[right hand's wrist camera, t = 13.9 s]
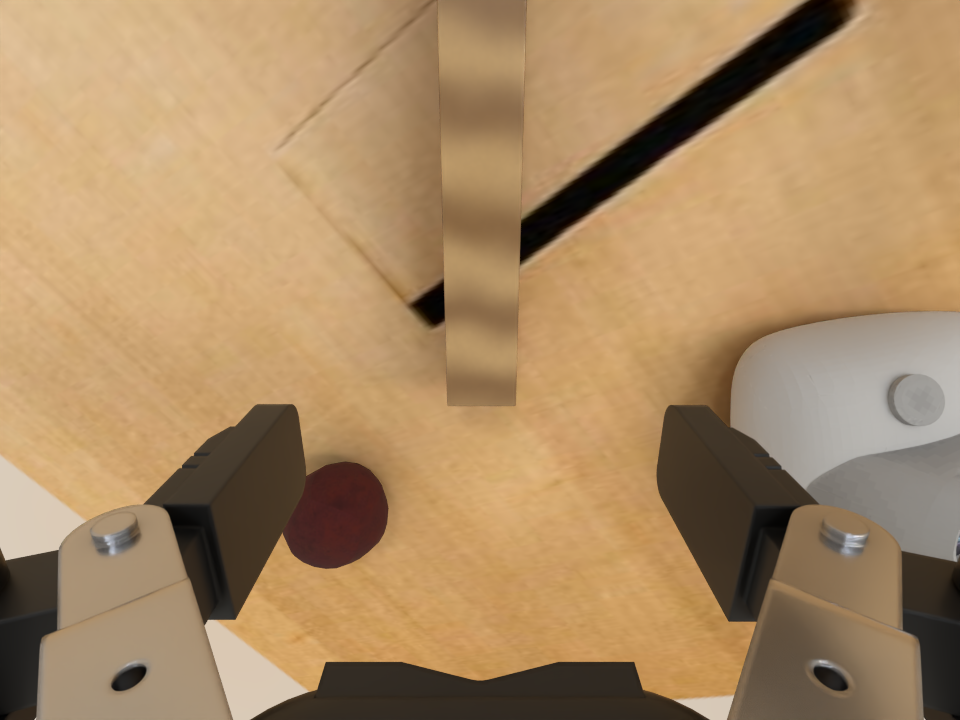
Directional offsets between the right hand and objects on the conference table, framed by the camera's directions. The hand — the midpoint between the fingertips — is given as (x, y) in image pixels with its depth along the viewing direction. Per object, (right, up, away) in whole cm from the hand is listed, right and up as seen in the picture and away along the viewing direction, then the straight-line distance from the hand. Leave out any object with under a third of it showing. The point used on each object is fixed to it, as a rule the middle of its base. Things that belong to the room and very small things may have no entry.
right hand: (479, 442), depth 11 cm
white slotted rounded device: (+29, -1, +27) cm, 40 cm away
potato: (-10, -8, +30) cm, 33 cm away
